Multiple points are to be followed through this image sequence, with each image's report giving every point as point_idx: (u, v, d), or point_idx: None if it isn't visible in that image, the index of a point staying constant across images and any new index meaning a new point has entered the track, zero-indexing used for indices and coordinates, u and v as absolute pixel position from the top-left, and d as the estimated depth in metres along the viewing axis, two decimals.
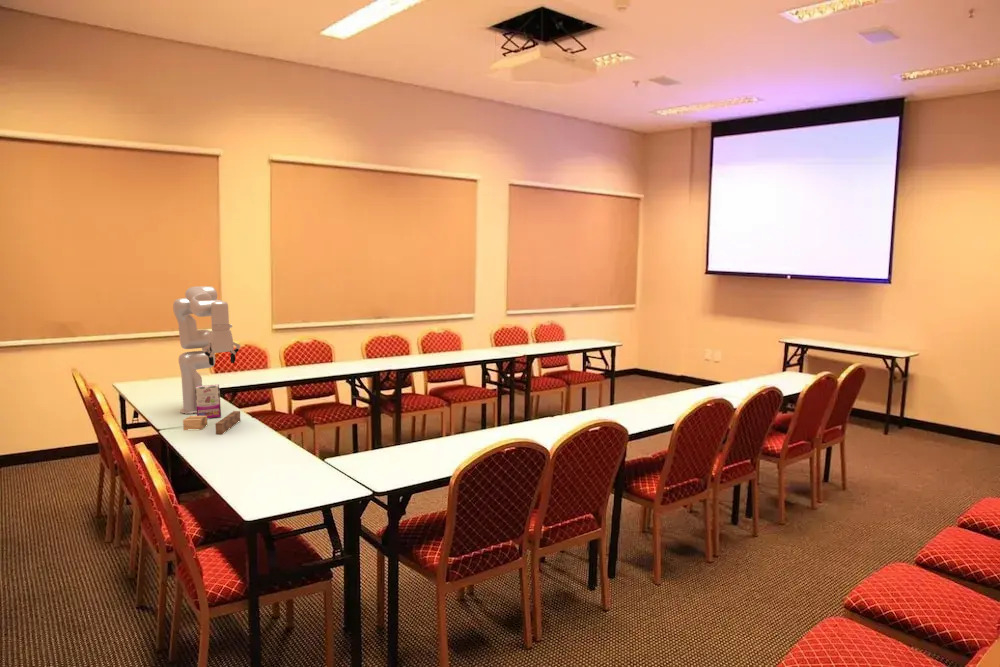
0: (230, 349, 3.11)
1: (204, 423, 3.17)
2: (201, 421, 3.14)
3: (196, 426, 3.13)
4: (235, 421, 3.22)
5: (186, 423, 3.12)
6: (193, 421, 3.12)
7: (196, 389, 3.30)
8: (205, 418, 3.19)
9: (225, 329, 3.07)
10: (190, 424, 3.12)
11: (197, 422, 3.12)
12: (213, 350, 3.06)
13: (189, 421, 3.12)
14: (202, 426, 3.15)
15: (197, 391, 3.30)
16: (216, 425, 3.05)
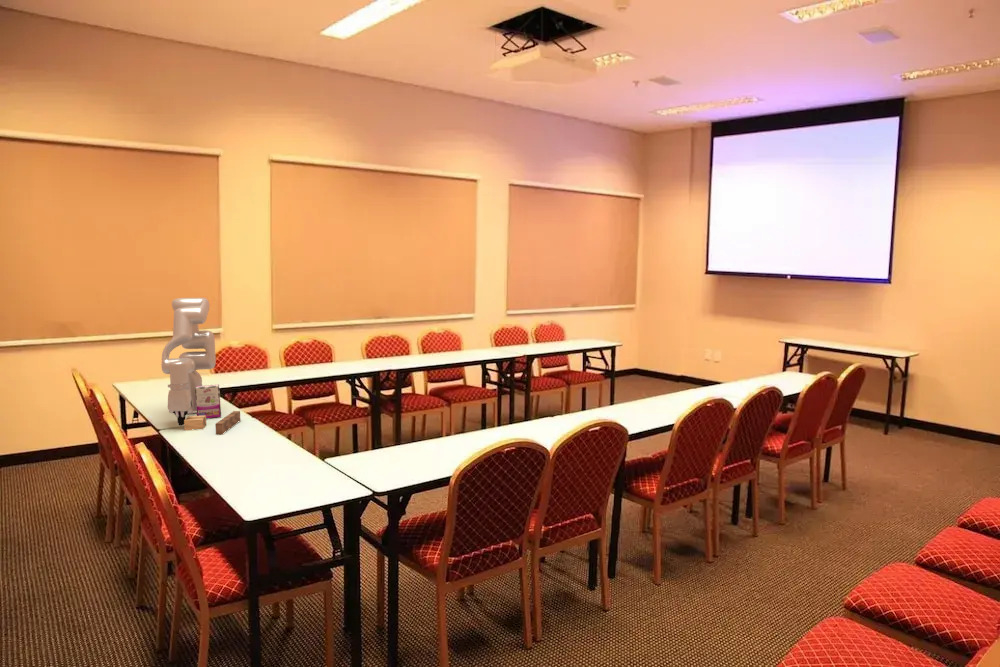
0: None
1: (204, 423, 3.18)
2: (203, 421, 3.14)
3: (198, 426, 3.13)
4: (235, 421, 3.22)
5: (187, 423, 3.12)
6: (195, 421, 3.13)
7: (196, 389, 3.30)
8: (205, 418, 3.20)
9: None
10: (191, 424, 3.12)
11: (199, 422, 3.13)
12: None
13: (190, 421, 3.12)
14: (203, 426, 3.16)
15: (197, 391, 3.30)
16: (216, 425, 3.05)
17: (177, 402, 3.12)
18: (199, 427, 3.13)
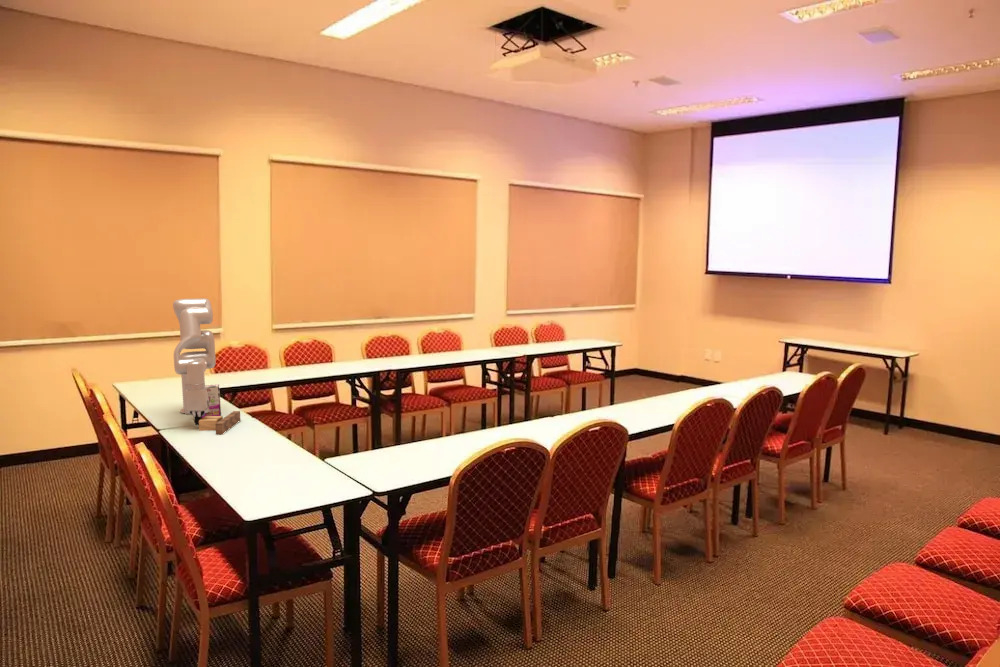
0: None
1: None
2: (217, 421, 3.13)
3: (212, 427, 3.12)
4: (235, 421, 3.22)
5: (202, 423, 3.12)
6: (209, 421, 3.12)
7: None
8: (221, 419, 3.18)
9: None
10: (206, 424, 3.12)
11: (213, 422, 3.12)
12: None
13: (205, 421, 3.12)
14: None
15: None
16: (216, 425, 3.05)
17: (194, 402, 3.12)
18: (213, 428, 3.12)
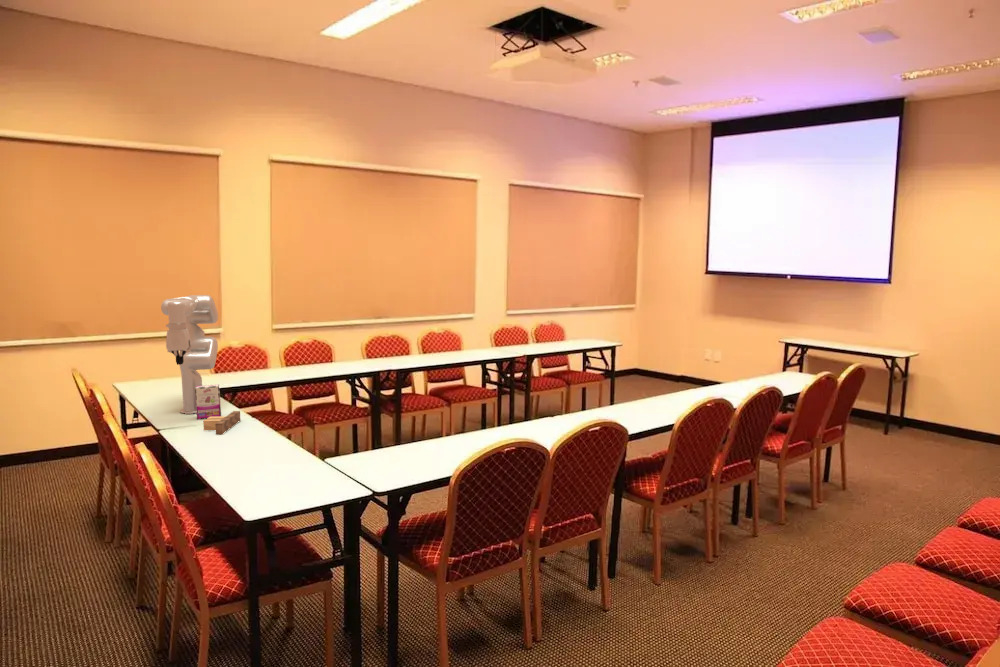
0: None
1: None
2: None
3: None
4: (235, 421, 3.22)
5: (206, 423, 3.11)
6: (213, 422, 3.11)
7: (196, 389, 3.30)
8: None
9: None
10: (210, 425, 3.11)
11: None
12: None
13: (209, 422, 3.11)
14: None
15: (197, 391, 3.30)
16: (216, 425, 3.05)
17: (175, 341, 3.18)
18: None
